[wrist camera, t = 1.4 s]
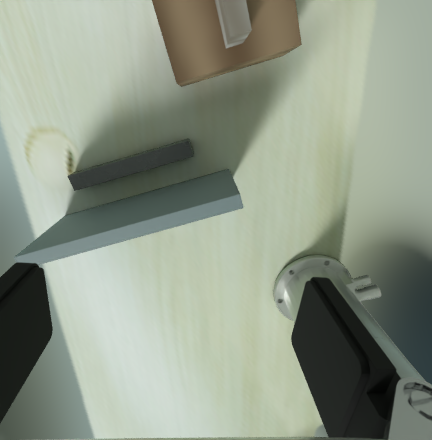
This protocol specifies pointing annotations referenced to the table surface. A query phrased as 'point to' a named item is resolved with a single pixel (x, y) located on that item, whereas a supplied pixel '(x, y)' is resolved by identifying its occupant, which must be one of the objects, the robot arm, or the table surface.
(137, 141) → the table surface
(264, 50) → the walnut cabinet
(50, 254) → the wall board
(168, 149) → the rail
